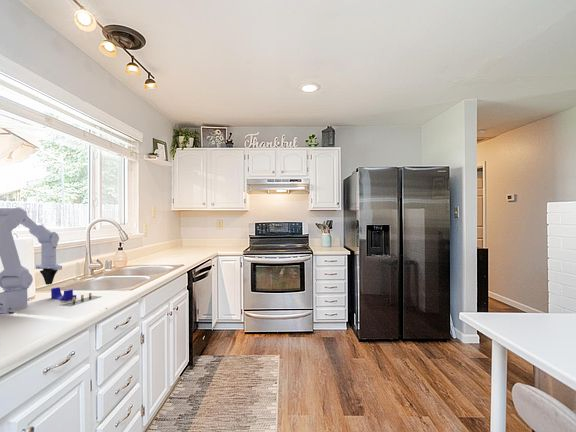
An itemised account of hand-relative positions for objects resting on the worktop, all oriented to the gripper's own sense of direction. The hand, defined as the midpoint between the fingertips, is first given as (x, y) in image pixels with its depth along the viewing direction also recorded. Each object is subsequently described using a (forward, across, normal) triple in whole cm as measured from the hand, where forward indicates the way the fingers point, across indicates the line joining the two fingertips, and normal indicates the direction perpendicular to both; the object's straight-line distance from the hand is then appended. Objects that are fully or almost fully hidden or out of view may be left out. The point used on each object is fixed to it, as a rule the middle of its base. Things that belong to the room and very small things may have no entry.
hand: (49, 284), depth 150 cm
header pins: (+6, -24, +3) cm, 25 cm away
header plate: (+7, -24, +3) cm, 25 cm away
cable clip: (+7, -12, +2) cm, 14 cm away
